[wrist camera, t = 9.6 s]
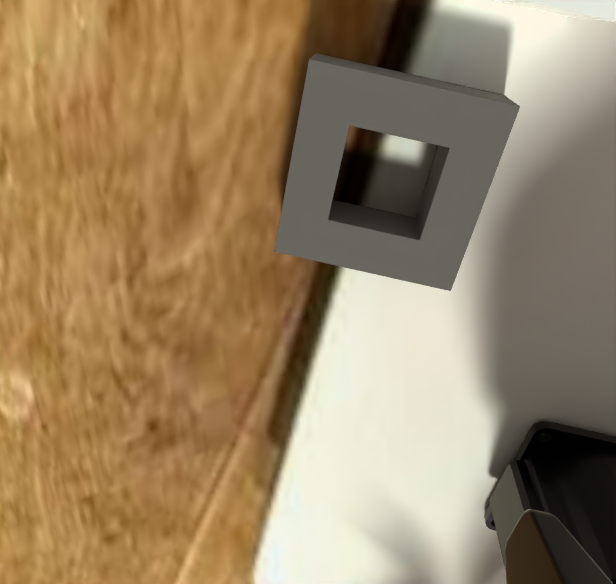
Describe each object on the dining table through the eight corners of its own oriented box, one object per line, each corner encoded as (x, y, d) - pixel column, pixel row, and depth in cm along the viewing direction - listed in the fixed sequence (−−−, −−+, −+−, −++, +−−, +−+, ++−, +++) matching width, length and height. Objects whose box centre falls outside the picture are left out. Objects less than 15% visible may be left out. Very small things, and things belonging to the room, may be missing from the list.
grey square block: (504, 95, 17) (519, 106, 15) (443, 264, 20) (450, 290, 18) (315, 53, 17) (309, 59, 15) (282, 229, 20) (274, 251, 18)
